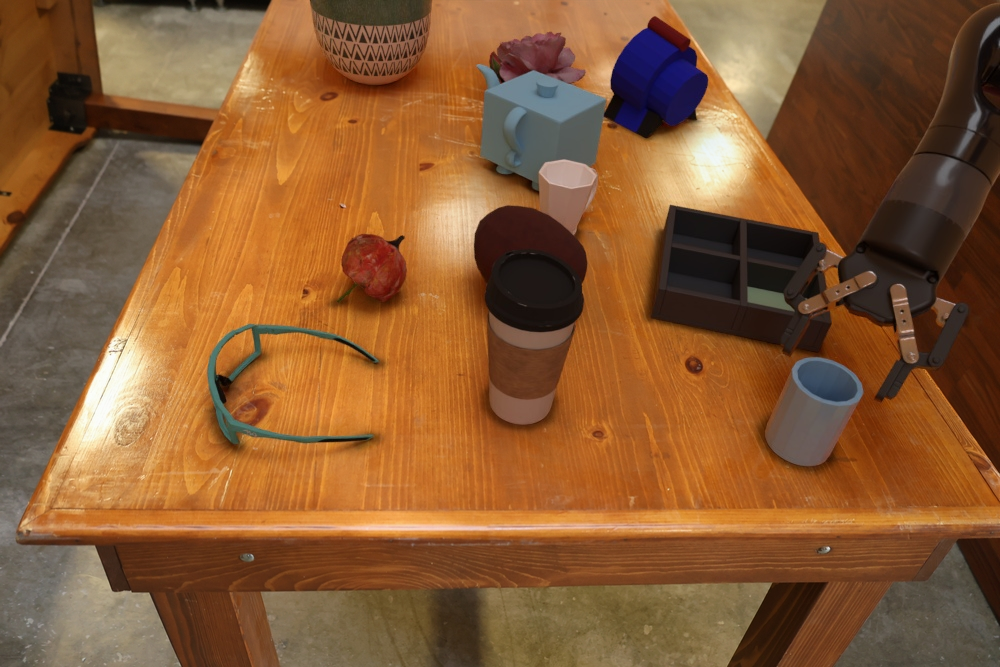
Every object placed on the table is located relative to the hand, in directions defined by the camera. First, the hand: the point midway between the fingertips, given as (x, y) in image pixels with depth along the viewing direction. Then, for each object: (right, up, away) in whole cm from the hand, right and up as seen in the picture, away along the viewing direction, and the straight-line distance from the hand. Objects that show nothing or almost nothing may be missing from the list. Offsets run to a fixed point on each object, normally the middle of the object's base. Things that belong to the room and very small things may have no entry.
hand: (831, 376), depth 69 cm
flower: (-24, +43, +59) cm, 77 cm away
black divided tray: (-2, +9, +21) cm, 24 cm away
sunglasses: (-48, -2, +3) cm, 49 cm away
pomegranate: (-43, +8, +15) cm, 47 cm away
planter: (-50, +46, +58) cm, 90 cm away
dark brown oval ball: (-27, +8, +17) cm, 33 cm away
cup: (-21, +17, +29) cm, 40 cm away
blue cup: (-2, -6, +3) cm, 7 cm away
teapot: (-27, +28, +40) cm, 56 cm away
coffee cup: (-28, -3, +5) cm, 28 cm away
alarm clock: (-5, +38, +55) cm, 67 cm away
